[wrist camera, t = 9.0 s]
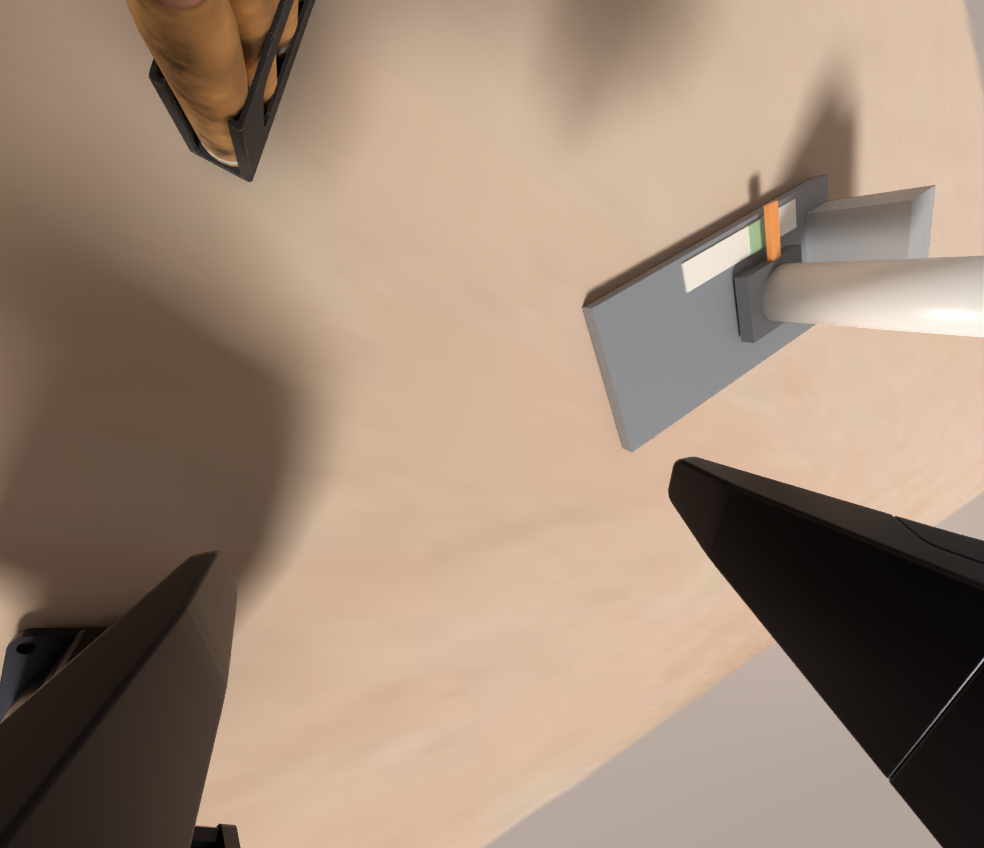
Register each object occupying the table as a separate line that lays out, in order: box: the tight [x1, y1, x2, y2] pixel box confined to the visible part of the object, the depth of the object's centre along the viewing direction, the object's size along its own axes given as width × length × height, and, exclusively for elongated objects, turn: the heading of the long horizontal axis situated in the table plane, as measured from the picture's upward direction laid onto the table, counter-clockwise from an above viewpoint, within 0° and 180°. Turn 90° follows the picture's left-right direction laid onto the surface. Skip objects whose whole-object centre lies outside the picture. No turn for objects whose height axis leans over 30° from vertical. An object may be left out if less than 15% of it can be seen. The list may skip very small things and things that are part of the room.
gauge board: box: [582, 175, 935, 452], centre depth 23 cm, size 18×9×6 cm, turn 114°
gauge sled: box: [734, 200, 984, 343], centre depth 21 cm, size 4×7×10 cm, turn 24°
